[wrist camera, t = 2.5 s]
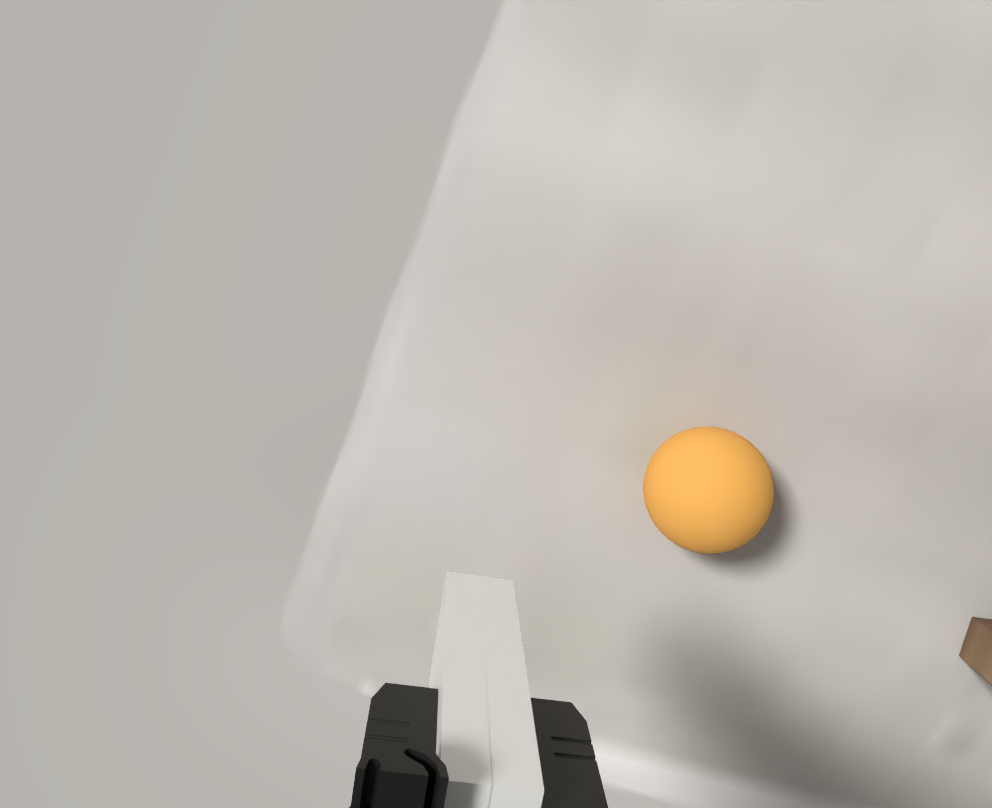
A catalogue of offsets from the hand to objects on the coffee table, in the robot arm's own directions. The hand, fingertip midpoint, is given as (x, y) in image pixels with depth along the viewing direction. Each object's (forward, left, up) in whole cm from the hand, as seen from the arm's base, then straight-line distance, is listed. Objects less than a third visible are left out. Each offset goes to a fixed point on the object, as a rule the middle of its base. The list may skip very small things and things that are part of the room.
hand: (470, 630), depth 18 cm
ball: (-10, 0, -13) cm, 16 cm away
